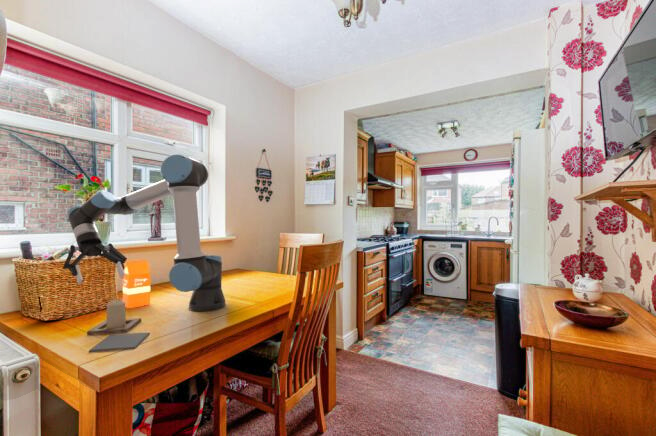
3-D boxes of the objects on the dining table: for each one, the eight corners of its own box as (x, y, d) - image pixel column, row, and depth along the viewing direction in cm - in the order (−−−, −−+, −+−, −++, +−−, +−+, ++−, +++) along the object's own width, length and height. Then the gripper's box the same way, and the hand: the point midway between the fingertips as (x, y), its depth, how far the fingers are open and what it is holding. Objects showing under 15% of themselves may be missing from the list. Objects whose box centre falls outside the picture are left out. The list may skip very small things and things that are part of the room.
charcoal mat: (149, 334, 102) (149, 332, 102) (134, 348, 90) (134, 346, 90) (109, 336, 100) (109, 334, 100) (88, 352, 88) (89, 350, 88)
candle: (104, 331, 105) (104, 302, 105) (108, 326, 110) (109, 298, 110) (123, 329, 107) (123, 300, 107) (126, 324, 112) (127, 297, 112)
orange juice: (150, 304, 138) (150, 260, 138) (128, 308, 132) (128, 262, 132) (144, 301, 143) (144, 259, 144) (122, 305, 137) (122, 260, 137)
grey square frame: (141, 321, 115) (141, 318, 115) (127, 332, 104) (127, 329, 104) (105, 323, 113) (105, 319, 113) (87, 335, 101) (87, 331, 101)
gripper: (119, 242, 134) (134, 279, 126) (44, 245, 114) (57, 291, 105) (125, 230, 132) (141, 268, 123) (49, 231, 111) (63, 277, 102)
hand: (102, 278), depth 114 cm, fingers open, 13 cm apart
